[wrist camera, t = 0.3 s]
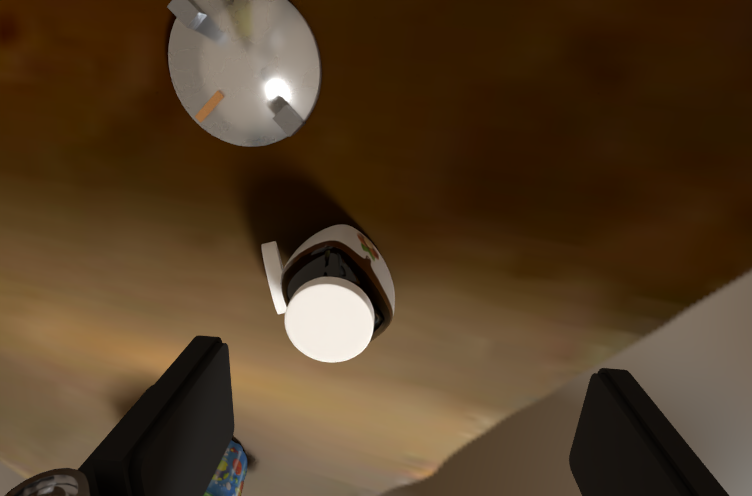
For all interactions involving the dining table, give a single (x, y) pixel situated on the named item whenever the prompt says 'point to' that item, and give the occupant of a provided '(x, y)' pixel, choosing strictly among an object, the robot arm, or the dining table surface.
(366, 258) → the spread jar
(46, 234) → the dining table surface
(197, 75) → the base
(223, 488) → the snack cup
